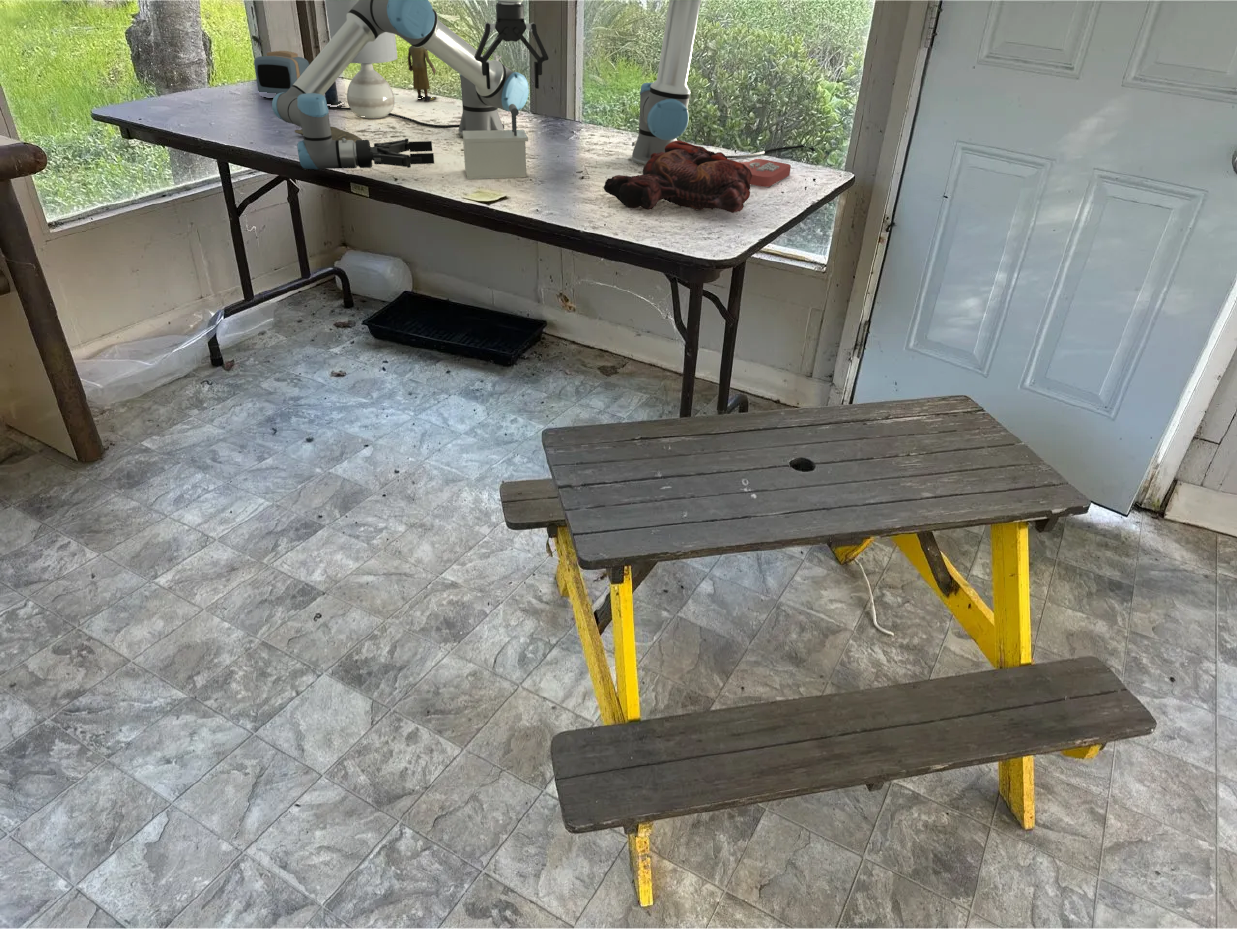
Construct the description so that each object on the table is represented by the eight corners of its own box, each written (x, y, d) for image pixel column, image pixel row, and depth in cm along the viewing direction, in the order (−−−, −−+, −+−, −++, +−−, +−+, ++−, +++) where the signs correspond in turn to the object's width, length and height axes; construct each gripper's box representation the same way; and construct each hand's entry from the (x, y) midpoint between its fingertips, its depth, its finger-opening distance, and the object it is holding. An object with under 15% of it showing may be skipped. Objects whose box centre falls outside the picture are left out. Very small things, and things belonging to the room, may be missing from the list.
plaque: (748, 154, 263) (793, 162, 256) (746, 167, 265) (791, 175, 258) (722, 166, 250) (769, 175, 244) (721, 179, 252) (767, 189, 246)
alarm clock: (257, 98, 324) (248, 53, 316) (278, 90, 338) (270, 46, 329) (297, 101, 323) (289, 55, 314) (317, 93, 336) (310, 49, 327)
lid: (523, 133, 251) (522, 102, 246) (528, 141, 243) (527, 109, 238) (462, 134, 247) (460, 103, 243) (465, 142, 240) (462, 110, 235)
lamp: (416, 115, 310) (403, -11, 287) (372, 125, 294) (355, -7, 272) (373, 106, 319) (358, -16, 296) (328, 116, 304) (309, -13, 281)
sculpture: (769, 218, 227) (775, 169, 218) (687, 248, 212) (691, 197, 203) (663, 172, 252) (665, 126, 244) (583, 196, 237) (582, 148, 229)
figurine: (443, 98, 335) (436, 13, 318) (431, 103, 327) (423, 15, 310) (418, 96, 337) (410, 11, 321) (406, 100, 330) (397, 13, 313)
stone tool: (292, 135, 280) (343, 148, 268) (291, 126, 278) (342, 139, 267) (320, 129, 287) (370, 142, 276) (318, 120, 286) (369, 133, 274)
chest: (522, 168, 256) (521, 133, 251) (526, 177, 249) (525, 141, 243) (465, 170, 253) (462, 134, 247) (467, 179, 245) (465, 142, 240)
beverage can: (339, 109, 314) (334, 74, 307) (318, 108, 314) (312, 73, 307) (346, 104, 321) (341, 69, 314) (325, 103, 321) (320, 69, 314)
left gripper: (353, 151, 228) (433, 149, 232) (356, 129, 248) (430, 128, 252) (357, 179, 232) (436, 177, 236) (359, 156, 252) (432, 154, 256)
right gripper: (463, 3, 222) (469, 90, 234) (557, 4, 227) (558, 90, 238) (461, 0, 228) (467, 85, 240) (553, 1, 233) (554, 84, 244)
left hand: (433, 152), depth 244 cm, fingers open, 13 cm apart
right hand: (512, 88), depth 239 cm, fingers open, 13 cm apart
